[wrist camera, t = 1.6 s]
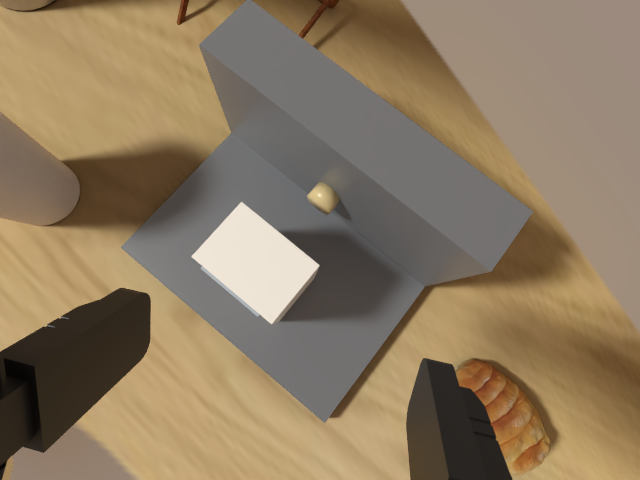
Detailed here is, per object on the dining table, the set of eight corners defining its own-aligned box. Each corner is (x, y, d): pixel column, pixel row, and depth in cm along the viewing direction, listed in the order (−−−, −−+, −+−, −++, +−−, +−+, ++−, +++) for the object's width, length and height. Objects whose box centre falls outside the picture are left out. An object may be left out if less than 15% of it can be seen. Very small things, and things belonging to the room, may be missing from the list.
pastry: (428, 381, 34) (445, 389, 30) (485, 343, 35) (508, 346, 31) (486, 476, 33) (511, 497, 29) (543, 433, 34) (574, 447, 30)
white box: (218, 274, 33) (189, 258, 24) (256, 231, 34) (241, 201, 25) (277, 323, 32) (269, 326, 24) (314, 278, 33) (319, 265, 25)
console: (128, 250, 35) (22, 210, 21) (265, 107, 38) (248, -2, 25) (323, 418, 33) (340, 488, 19) (448, 249, 36) (533, 211, 23)
